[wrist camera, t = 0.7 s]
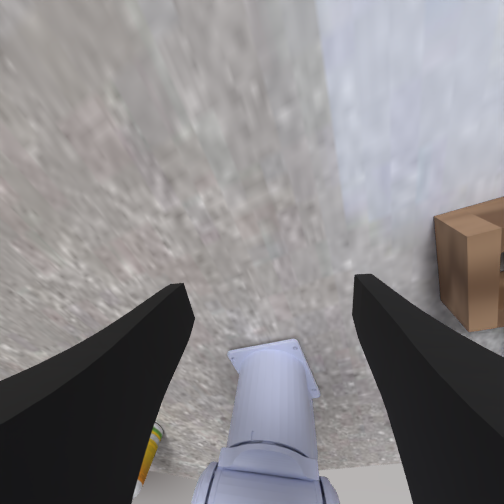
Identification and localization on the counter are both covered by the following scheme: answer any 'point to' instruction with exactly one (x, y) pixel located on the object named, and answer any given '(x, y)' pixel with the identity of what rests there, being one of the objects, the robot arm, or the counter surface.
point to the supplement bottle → (148, 456)
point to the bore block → (472, 263)
